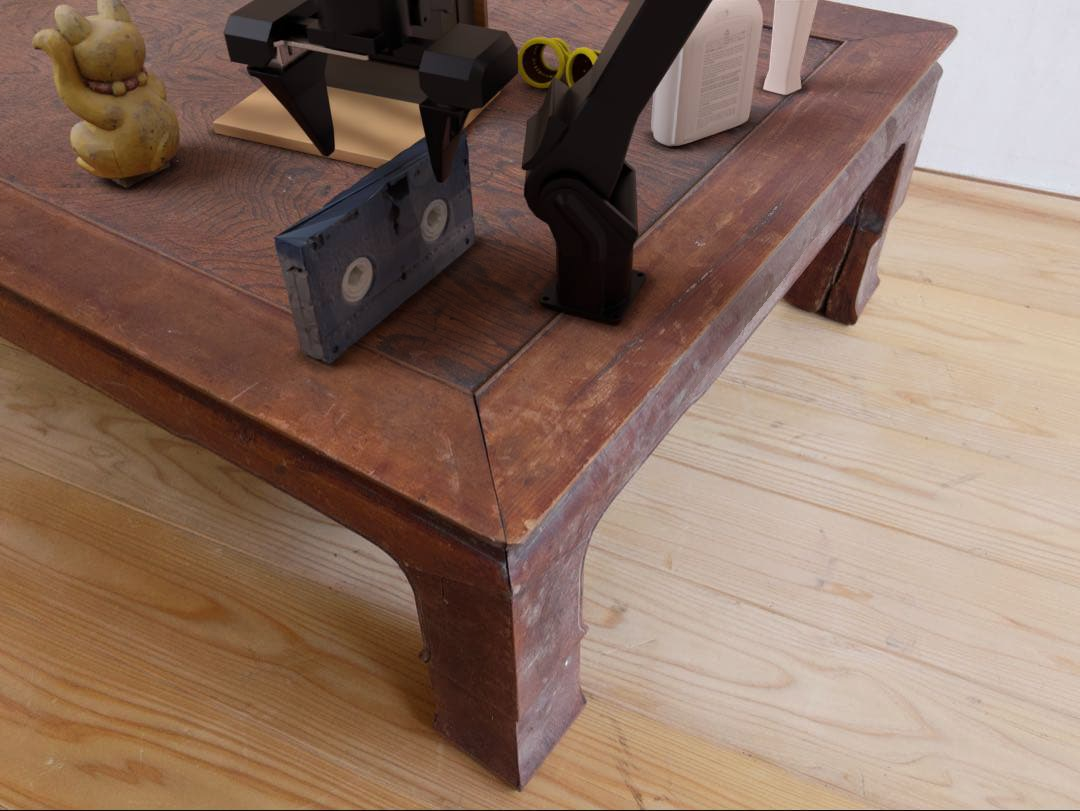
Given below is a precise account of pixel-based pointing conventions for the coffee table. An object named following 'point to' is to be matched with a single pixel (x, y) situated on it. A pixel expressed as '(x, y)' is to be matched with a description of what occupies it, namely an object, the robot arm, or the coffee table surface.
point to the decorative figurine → (110, 93)
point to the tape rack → (356, 102)
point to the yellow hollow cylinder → (572, 64)
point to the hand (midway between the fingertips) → (385, 166)
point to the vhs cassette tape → (374, 248)
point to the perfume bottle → (789, 44)
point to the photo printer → (710, 75)
